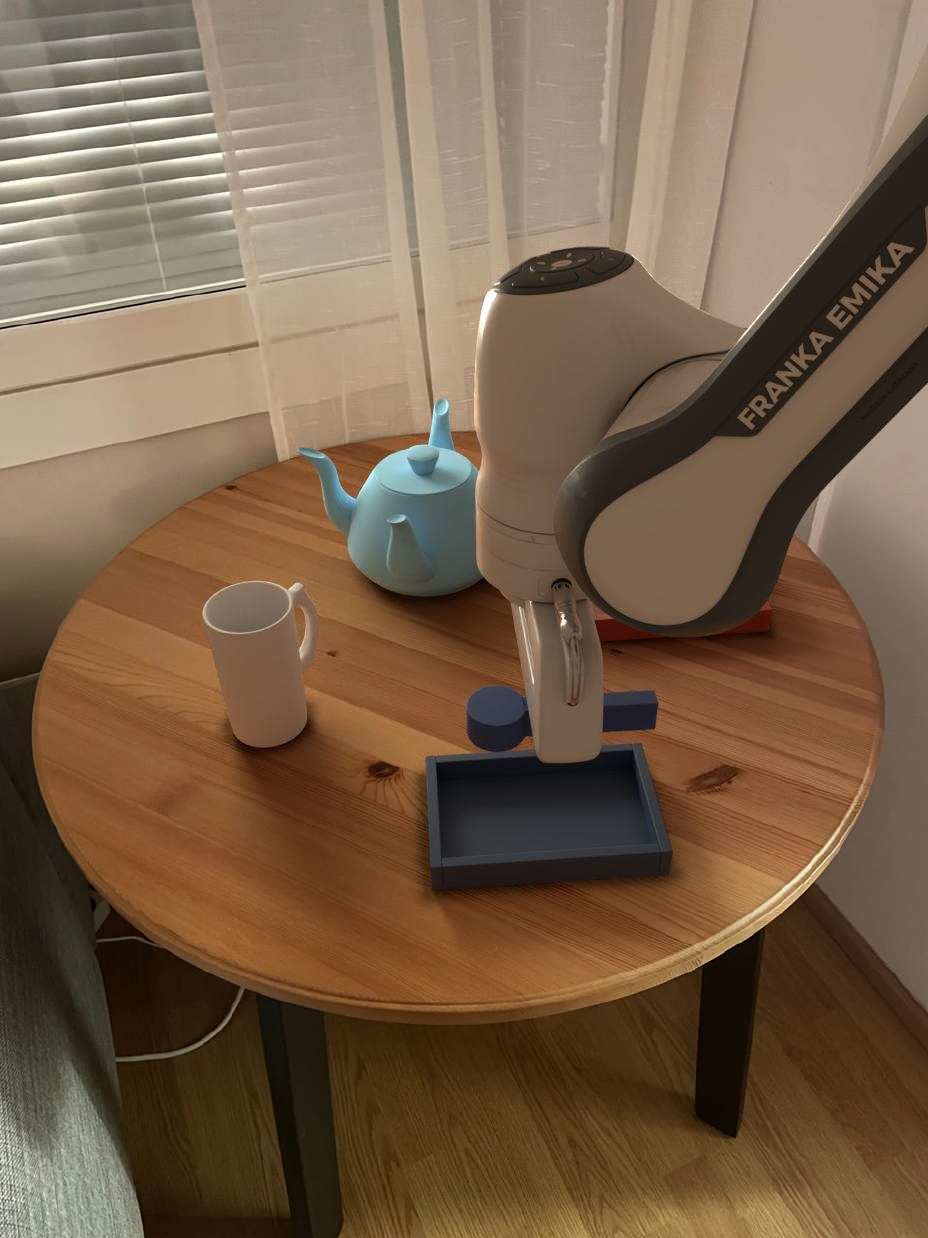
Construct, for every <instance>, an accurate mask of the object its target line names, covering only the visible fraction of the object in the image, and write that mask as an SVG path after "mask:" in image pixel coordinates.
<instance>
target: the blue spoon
mask: <svg viewBox="0 0 928 1238" xmlns="http://www.w3.org/2000/svg"><path fill="white" fill-rule="evenodd" d="M465 706H466V707H465V708H466V711H465V712H466V713H465V714H466V735H467V737H468V739H469V741H470V742H471V743H472V744H473V745H474V746H476V748H478V749H480V750H483V751H486V752H503V751H512V750H514V749H515V748H517V747H518V746H520V744H522V742H523V741H524V739H525V738H526V737H533V733H532V727H531V721H530V715H529V709H528V703H527V697H526V696H524V695H522V694H521V692H519V691H518V690H516V689H515V688H512V687H508V686H504V685H488V686H484V687H481V688H479V689H477V690H475V691H474V692H473V693H472V694H471V695H469V697H468V699H467V701H466V705H465ZM658 710H659V701H658V698H657V694H656V690H655V689H644V690H626V691H609V692H604V701H603V728H602V733H613V732H614V733H615V732H616V733H617V732H634V731H650V730H651V731H652V730H656V726H657V719H658V718H657V717H658Z"/></svg>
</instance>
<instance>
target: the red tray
mask: <svg viewBox="0 0 928 1238" xmlns="http://www.w3.org/2000/svg"><path fill="white" fill-rule="evenodd" d="M590 606H591V610H592V614H593V618H594V621H595V625H596V629H597V632H598V636H599V640H600V642H613V641H614V642H615V641H631V640H647V639H648V640H649V639H663V638H672V637H671V636H662V635H656V634H651V633H647V632H643V631H640V630H637V629H634V628H632V627H629V626H627V625H625V624H623V623H621V622H619V621H617V620H615V619H613V618H612V617H610V616H609V615H607V614H606V613H604V612H603V611H602V610H601V609H599V608H598V607H597V606H596V605H595V604H594V603H593V602H591V603H590ZM772 615H773V608H772V606H771V603H770V602H769V599H768V600H767V601H766V603H765V604H764V606H763V607H762V608H761V609H760V610H759V611H758V612H757V613H756V614H755V615H754V616H753V617H752V618H750V619H749V620H748V621H746V622H745V623H743V624H741V625H739V626H737V627H735V628H733V629H731V630H728V631H725V632H722V633H719V634H718V635H730V634H731V635H732V634H748V633H765V632H769V629H770V625H771V620H772ZM714 635H715V636H716V635H717V634H714Z"/></svg>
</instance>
